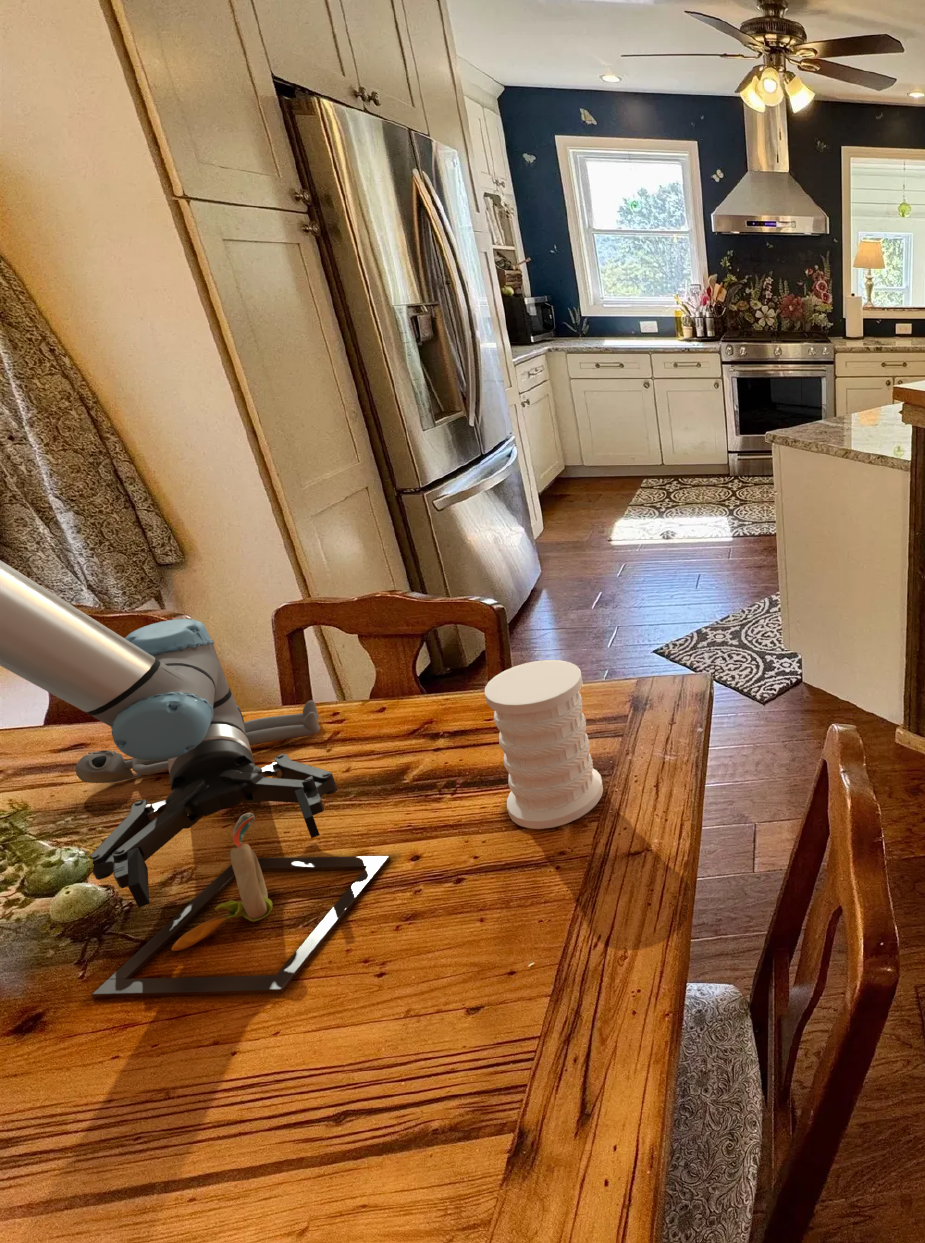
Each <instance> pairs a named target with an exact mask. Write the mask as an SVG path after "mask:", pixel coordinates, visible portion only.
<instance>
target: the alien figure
mask: <svg viewBox="0 0 925 1243" xmlns="http://www.w3.org/2000/svg"><path fill="white" fill-rule="evenodd" d="M319 718H320V715H319V713H318V708H317V704H316V702H315V701H314V700H312V699H311V700H308V701H307V702H306V703H305V704H304V705H303V708H302V713H295V714H294V713H293V714H292V713H291V714H282V715H275V716H267V717H260V718H255V719H250V720H246V721H244V728H245V733H246V736H247V738H248V741H249V744H250V746H255V745H261V744H266V743H271V742H277V741H284V740H290V739H291V740H292V739H298V738H304V737H309V736H314V735H316V734H318V733H319V732H320V729H321V727H320V726H321V725H320V724H319ZM166 771H169V766H168V759H167V760H160V761H147V760H140V759H136V758H133V757H132V759H128V760H125V758H124V757H123V755H122V753H119V752H117V751H115V750H113V751H112V750H106V749H105V750H97V751H92V752H91V751H88V753H87V754H86V755H85V754H84V755H83V756H82V757H81V758H80V759H79V760H78V761H77V763H76V765H75V774H76V776H77V778H78V779H79V780H80V781H82V782H84V783H89V784H90V783H91V784H111V783H118V782H122V781H126V780H130V779H135V778H137V777H140V776H141V777H142V776H149V775H155V774H159V773H162V772H166ZM133 772H134V773H133Z"/></svg>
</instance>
